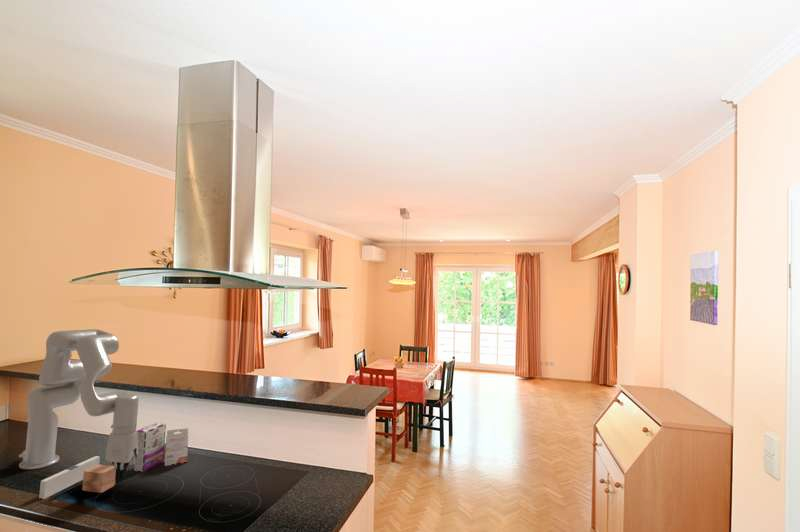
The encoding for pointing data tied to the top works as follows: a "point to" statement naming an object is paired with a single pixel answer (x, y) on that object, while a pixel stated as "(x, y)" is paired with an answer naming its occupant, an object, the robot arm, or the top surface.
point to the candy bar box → (150, 446)
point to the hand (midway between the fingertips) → (120, 479)
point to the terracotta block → (99, 478)
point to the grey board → (66, 477)
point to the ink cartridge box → (176, 446)
